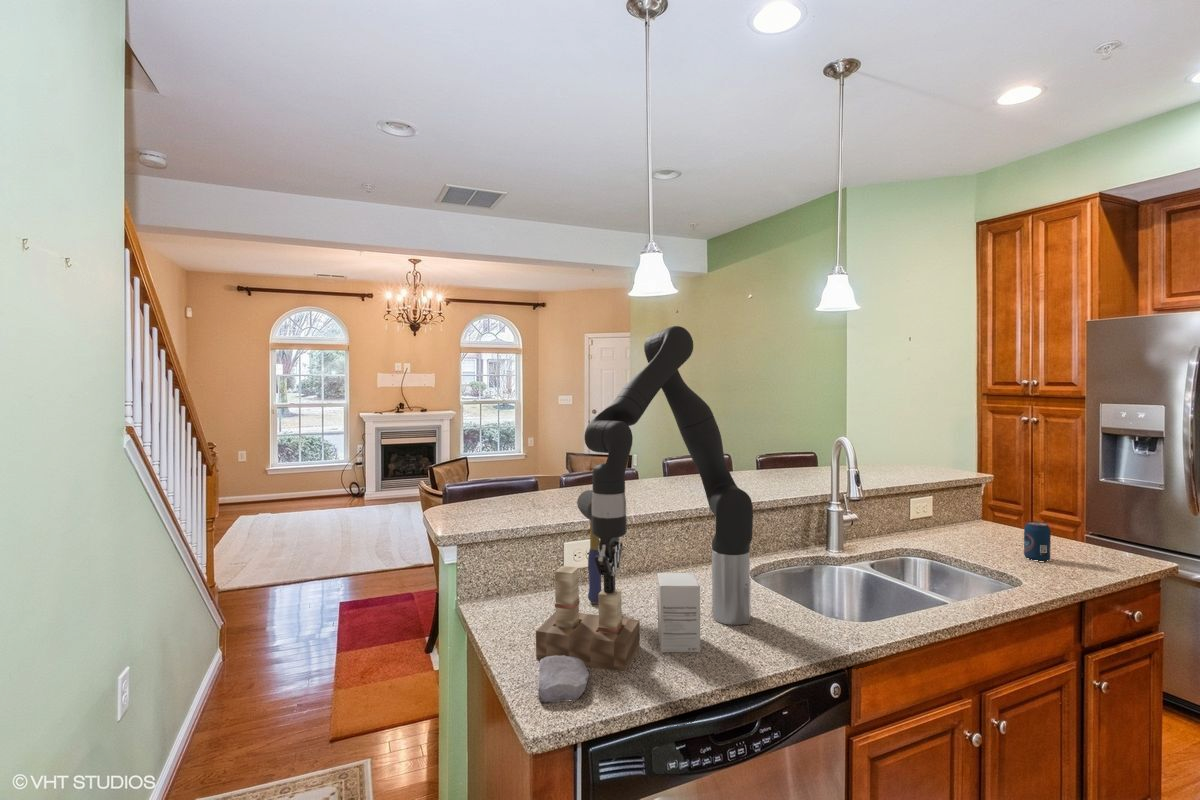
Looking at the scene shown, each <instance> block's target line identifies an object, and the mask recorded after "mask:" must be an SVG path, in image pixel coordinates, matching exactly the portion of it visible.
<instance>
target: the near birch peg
mask: <svg viewBox="0 0 1200 800" xmlns="http://www.w3.org/2000/svg"><path fill="white" fill-rule="evenodd" d="M601 590H602V591H601V592H600V593H599V594H598V603H597V604H598V615H599V627H598V631H599V632H601V633H609V634H617V635H619V633H620V632H621V630H622V618H623V615H622V612H623V611H622V609H623V608H622V589H619V588H615V591H614V592H613V593H606V592H604V587H603V588H601Z"/></svg>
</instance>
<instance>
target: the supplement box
mask: <svg viewBox="0 0 1200 800" xmlns="http://www.w3.org/2000/svg"><path fill="white" fill-rule="evenodd" d="M656 579H657V637H658V644H659V650H660V652H661V653H701V587H700V583H699V582H698V578H697V577H696V573H694V572H657V577H656Z"/></svg>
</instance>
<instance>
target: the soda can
mask: <svg viewBox="0 0 1200 800" xmlns="http://www.w3.org/2000/svg"><path fill="white" fill-rule="evenodd" d="M1023 529H1024V530H1023V536H1024V537H1023V555H1024V557H1025V558H1026V559H1027V558H1029V559H1032V560H1038V561H1047V560H1048V561H1049V560H1050V559H1051V547H1052V546H1051V539H1052V537H1051V531H1052V530H1051V528H1050V526H1049V523H1046V522H1041V521H1035V520H1032V521H1031V520H1028V521H1026V523H1025V525H1024V528H1023ZM1048 561H1047V562H1048Z"/></svg>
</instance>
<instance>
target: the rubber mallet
mask: <svg viewBox="0 0 1200 800" xmlns="http://www.w3.org/2000/svg"><path fill="white" fill-rule="evenodd" d="M592 495H593V489H592V490H591V489H587V490H584V491H583V492H581V493H580V494H579V496H578V497H577V502H576V504H577V505H576V506H577V508H578V510H579V511H580V513H581V514H582V515H583V516H584V517H585V518H586V519H587V520H589V532H590V533H589V535H590V536H589V537H590V538H589V551H588V558H587V570H588V578H589V581H588V586H589V587H588V593H587V598H588V600H589V602H590V604H595V605H596V604H598V594H599V593H600V592H601V591H602V575H600V574H599V571H598V568H597V565H596V562H595V556H599V552H598V545H599V543H600V538H599V537H597V536H594V535H593V534H592Z"/></svg>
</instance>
